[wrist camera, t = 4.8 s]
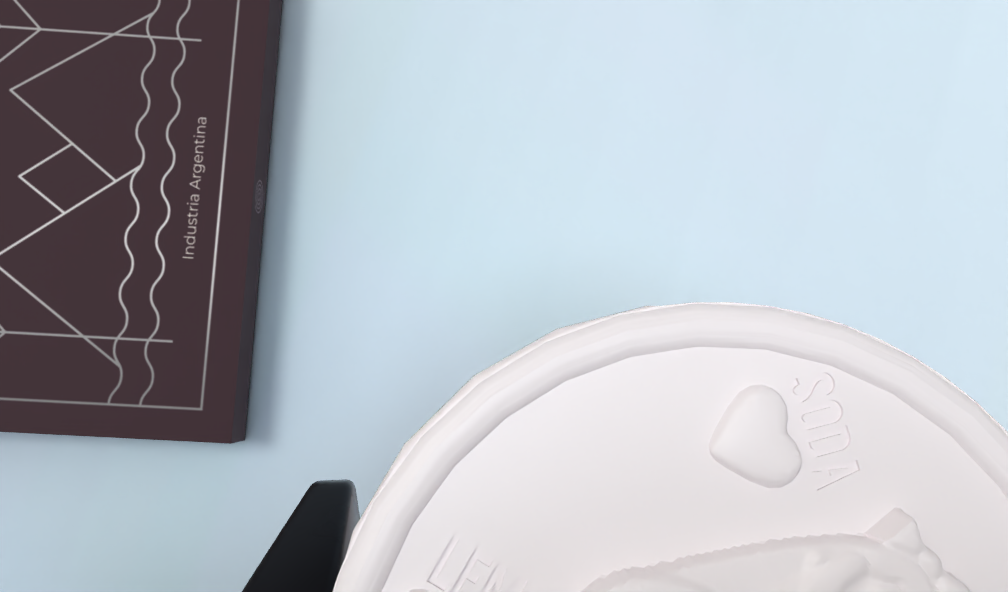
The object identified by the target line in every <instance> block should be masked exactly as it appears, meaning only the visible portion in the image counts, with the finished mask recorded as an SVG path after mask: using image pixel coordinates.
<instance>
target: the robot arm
mask: <svg viewBox="0 0 1008 592" xmlns="http://www.w3.org/2000/svg"><path fill="white" fill-rule="evenodd" d="M359 520H360V515H359V509H358V502H357V496H356V489H355V486H354V484H353V482H352V481H350V480H324V481H317V482H315V483H313V484H312V485H311V486H310V487H309V489H308V490H307V492H306V493H305V495H304V496H303V498H302V499H301V501H300V502H299V504H298V506H297V507H296V509H295V510H294V512H293V513H292V515H291V516H290V518H289V519H288V521H287V523H286V524H285V526H284V527H283V529H282V530H281V532H280V533H279V535H278V536H277V538H276V540H275V541H274V543H273V544H272V546H271V547H270V549H269V550H268V552H267V553H266V555H265V557H264V558H263V560H262V561H261V563H260V564H259V566H258V567H257V569H256V571H255V572H254V574H253V575H252V577H251V578H250V580H249V581H248V583H247V584H246V586H245V588H244V589H243V591H242V592H333V589H334V586H335V582H336V579H337V576H338V574H339V571H340V569H341V567H342V564H343V562H344V559H345V557H346V553H347V550H348V546H349V543H350V540H351V536H352V533H353V530H354V528H355V526H356V525H357V523H358V521H359Z"/></svg>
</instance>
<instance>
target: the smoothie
mask: <svg viewBox="0 0 1008 592" xmlns="http://www.w3.org/2000/svg"><path fill="white" fill-rule="evenodd" d="M333 592H1008V432H1007V431H1006V430H1005V429H1004V428H1003V427H1002V426H1001V425H1000V424H999V423H998V422H997V421H996V420H995V419H994V418H993V417H992V416H991V415H990V414H989V413H988V412H987V411H986V410H984V409H983V408H982V407H981V406H980V405H979V404H978V403H977V402H976V401H975V400H973V399H972V398H971V397H970V396H968V395H967V394H966V393H965V392H963V391H962V390H961V389H960V388H958V387H957V386H956V385H955V384H953V383H952V382H951V381H949V380H948V379H947V378H946V377H944V376H943V375H941V374H939V373H938V372H936V371H935V370H933V369H932V368H930V367H929V366H927V365H926V364H924V363H923V362H921V361H919V360H918V359H916V358H915V357H913V356H911V355H909V354H908V353H906V352H904V351H902V350H900V349H898V348H896V347H894V346H892V345H890V344H888V343H886V342H885V341H883V340H881V339H879V338H876V337H874V336H871V335H869V334H866V333H864V332H862V331H859V330H857V329H854V328H852V327H849V326H847V325H844V324H841V323H838V322H835V321H831V320H828V319H824V318H821V317H818V316H814V315H811V314H808V313H803V312H798V311H793V310H788V309H782V308H777V307H772V306H764V305H754V304H744V303H733V302H704V303H684V304H675V305H665V306H644V307H640V308H636V309H632V310H628V311H624V312H620V313H617V314H613V315H609V316H605V317H601V318H597V319H593V320H589V321H585V322H582V323H578V324H574V325H570V326H566V327H562V328H558V329H555V330H554V331H552V332H550V333H548V334H547V335H545V336H543V337H541V338H540V339H538V340H536V341H534V342H532V343H531V344H529V345H527V346H525V347H524V348H522V349H520V350H518V351H517V352H515V353H513V354H511V355H510V356H508V357H506V358H504V359H503V360H501V361H499V362H497V363H495V364H494V365H492V366H490V367H488V368H487V369H485V370H483V371H481V372H480V373H478V374H476V375H474V376H473V377H472V378H471V379H470V380H469V381H468V382H467V383H466V384H465V385H464V386H463V387H462V388H461V389H460V390H459V391H458V392H457V393H456V394H455V395H454V396H453V397H452V398H451V399H450V400H449V401H448V402H447V403H446V404H445V405H444V406H443V407H442V408H441V409H439V410H438V411H437V412H436V413H435V414H434V415H433V416H432V417H431V418H430V419H429V420H428V421H427V422H426V423H425V424H424V425H423V426H422V427H421V428H420V429H419V430H418V431H417V432H416V433H415V434H414V435H413V436H412V437H411V438H410V439H409V440H408V441H407V442H406V443H405V444H404V445H403V447H402V449H401V451H400V452H399V454H398V456H397V457H396V459H395V461H394V462H393V464H392V466H391V467H390V469H389V471H388V472H387V474H386V476H385V477H384V479H383V481H382V483H381V484H380V486H379V488H378V489H377V491H376V493H375V494H374V496H373V498H372V499H371V501H370V503H369V504H368V506H367V508H366V509H365V511H364V513H363V515H362V516H361V518H360V520H359V521H358V523H357V525H356V526H355V528H354V530H353V533H352V536H351V540H350V543H349V546H348V550H347V553H346V557H345V559H344V562H343V564H342V567H341V569H340V571H339V574H338V576H337V579H336V582H335V586H334V589H333Z"/></svg>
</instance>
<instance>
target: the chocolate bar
mask: <svg viewBox="0 0 1008 592" xmlns="http://www.w3.org/2000/svg"><path fill="white" fill-rule="evenodd" d="M281 10H282V0H0V432H17V433H37V434H56V435H76V436H95V437H115V438H135V439H154V440H174V441H193V442H213V443H235V442H239V441H244V440H245V431H246V420H247V408H248V396H249V385H250V373H251V361H252V349H253V338H254V326H255V314H256V303H257V291H258V279H259V268H260V256H261V244H262V232H263V221H264V209H265V197H266V186H267V174H268V162H269V151H270V139H271V127H272V115H273V104H274V92H275V80H276V69H277V57H278V45H279V34H280V22H281Z"/></svg>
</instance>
